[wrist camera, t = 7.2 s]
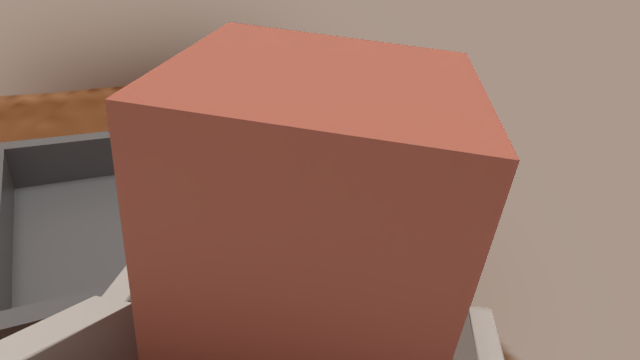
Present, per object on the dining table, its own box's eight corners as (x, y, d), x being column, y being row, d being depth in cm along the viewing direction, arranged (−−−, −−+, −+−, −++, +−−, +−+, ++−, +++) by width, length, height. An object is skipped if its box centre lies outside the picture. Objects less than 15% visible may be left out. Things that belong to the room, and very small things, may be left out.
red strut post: (167, 583, 11) (104, 98, 5) (228, 409, 15) (229, 22, 9) (361, 627, 11) (520, 160, 5) (371, 437, 15) (466, 53, 9)
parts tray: (345, 296, 21) (355, 240, 19) (-15, 408, 15) (-42, 340, 13) (242, 161, 30) (242, 117, 29) (-1, 197, 25) (-15, 144, 23)
